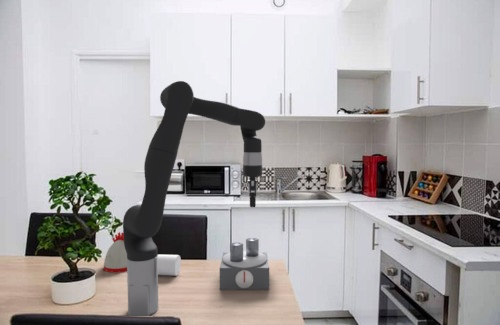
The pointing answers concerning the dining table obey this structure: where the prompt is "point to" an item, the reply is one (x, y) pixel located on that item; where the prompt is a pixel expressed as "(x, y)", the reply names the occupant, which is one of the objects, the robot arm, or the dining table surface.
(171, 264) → the mug
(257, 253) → the cylinder
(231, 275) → the scale
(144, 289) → the robot arm
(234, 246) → the cylinder
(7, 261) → the dining table surface
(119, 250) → the kitchen timer
